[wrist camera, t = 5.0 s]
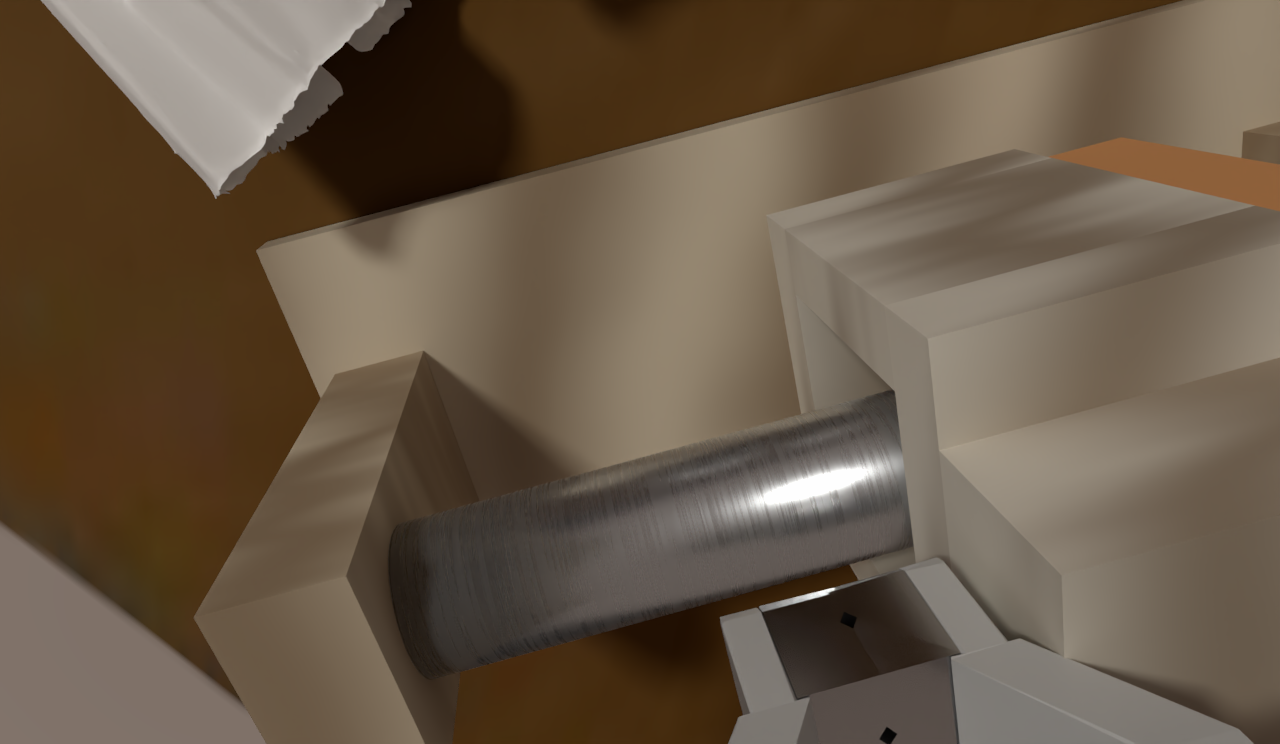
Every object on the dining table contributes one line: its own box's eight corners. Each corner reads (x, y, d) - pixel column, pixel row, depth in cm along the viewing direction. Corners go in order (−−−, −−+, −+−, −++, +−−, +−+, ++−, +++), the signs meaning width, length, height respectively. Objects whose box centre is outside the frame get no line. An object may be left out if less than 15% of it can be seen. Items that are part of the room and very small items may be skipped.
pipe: (1465, 200, 14) (1656, 235, 12) (1441, 338, 15) (1612, 395, 13) (401, 488, 14) (374, 585, 11) (452, 610, 15) (436, 721, 12)
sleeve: (1014, 149, 16) (1603, 287, 7) (1030, 455, 19) (1468, 824, 10) (765, 215, 16) (1056, 437, 7) (818, 513, 19) (1074, 938, 10)
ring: (1121, 137, 16) (1479, 199, 10) (1121, 428, 18) (1404, 616, 12) (1021, 163, 16) (1321, 242, 10) (1035, 451, 18) (1279, 652, 12)
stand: (1330, -39, 18) (2005, -101, 10) (1291, 366, 22) (1750, 566, 14) (267, 241, 18) (32, 425, 9) (423, 604, 21) (357, 960, 13)
